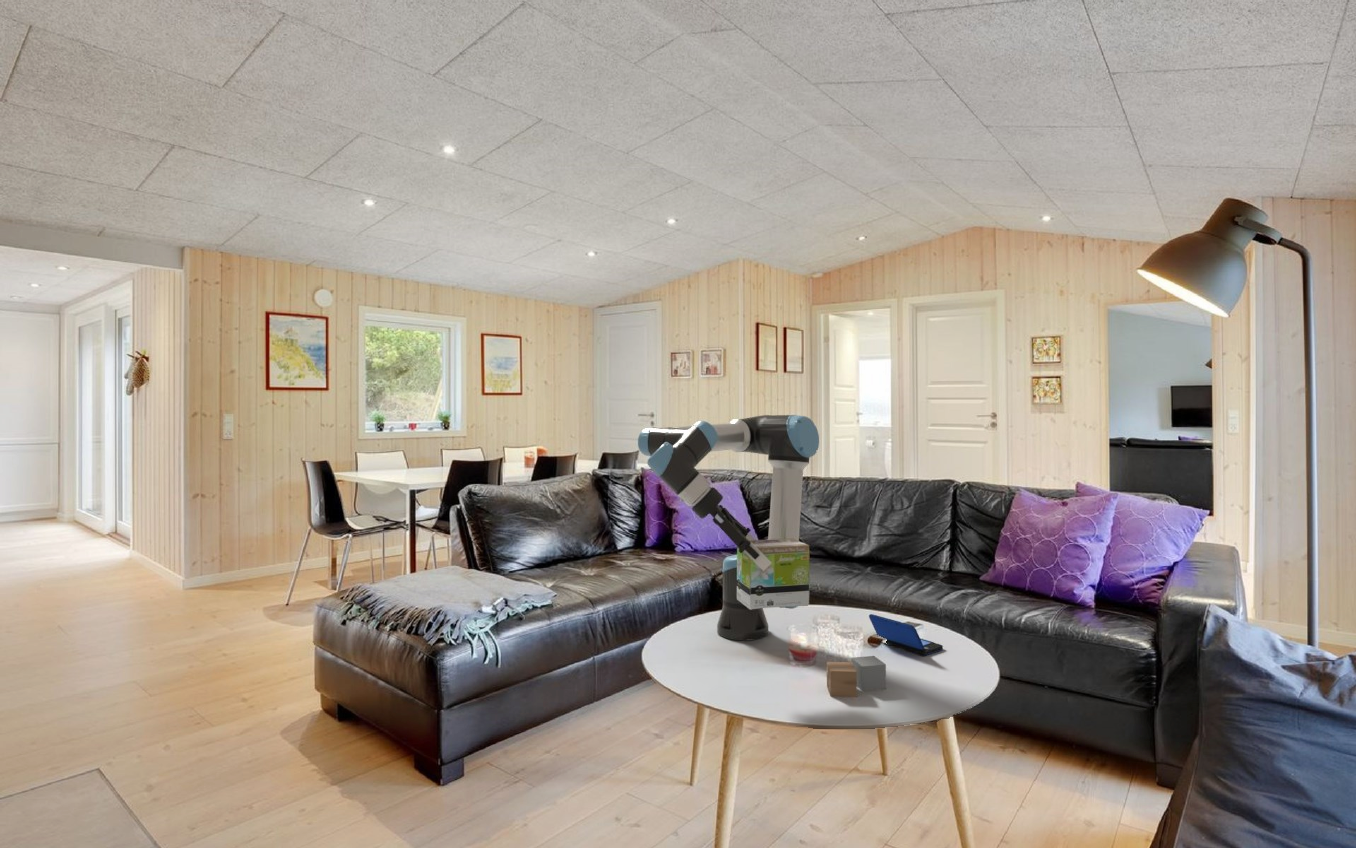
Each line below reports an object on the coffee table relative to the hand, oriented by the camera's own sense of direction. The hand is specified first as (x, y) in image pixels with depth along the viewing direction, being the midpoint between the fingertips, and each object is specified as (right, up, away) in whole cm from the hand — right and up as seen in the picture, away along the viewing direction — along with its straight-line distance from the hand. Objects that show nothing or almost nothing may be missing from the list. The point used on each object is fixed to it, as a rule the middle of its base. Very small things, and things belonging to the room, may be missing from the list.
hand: (766, 561), depth 172 cm
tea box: (+2, -11, +1) cm, 11 cm away
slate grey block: (+25, -30, +1) cm, 39 cm away
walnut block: (+17, -30, -2) cm, 35 cm away
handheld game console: (+42, -30, +28) cm, 59 cm away
